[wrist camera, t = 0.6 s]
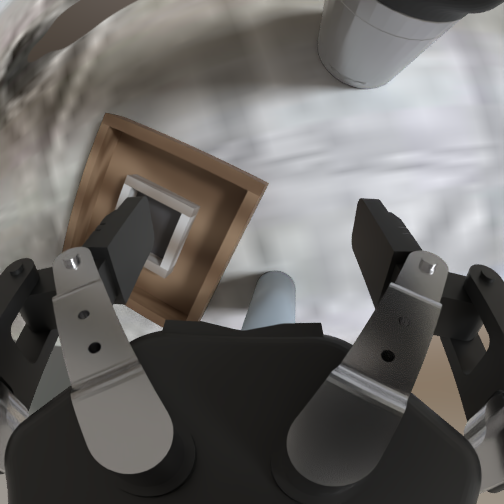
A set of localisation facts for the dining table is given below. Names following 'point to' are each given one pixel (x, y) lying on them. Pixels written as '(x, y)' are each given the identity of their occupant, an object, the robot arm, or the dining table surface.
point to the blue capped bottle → (271, 301)
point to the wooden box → (167, 213)
